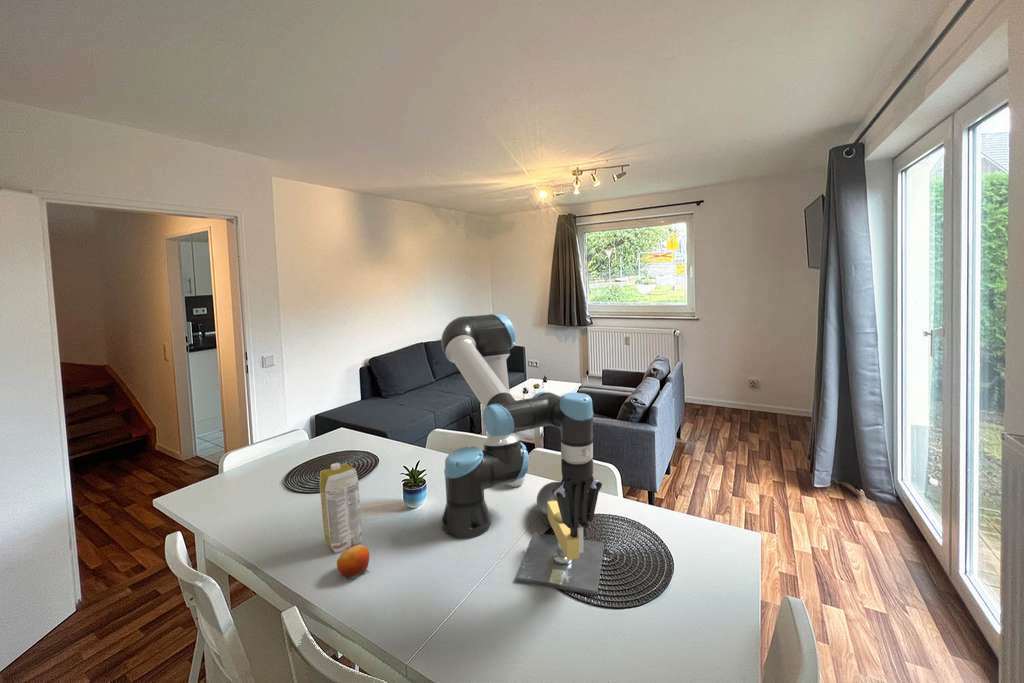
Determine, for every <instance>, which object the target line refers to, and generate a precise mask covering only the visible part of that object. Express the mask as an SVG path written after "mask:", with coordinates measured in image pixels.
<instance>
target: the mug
mask: <svg viewBox="0 0 1024 683" xmlns="http://www.w3.org/2000/svg"><path fill="white" fill-rule="evenodd" d="M525 478H526V475H525V476H524V477H523V478H521V479H519V480H516V481H514V482H512V483H506V484H505V485H507V486H509V487H512V488H513V487H514V488H515V487H520V486H522V485H523V483H524V482H525V480H526V479H525Z"/></svg>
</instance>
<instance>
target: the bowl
mask: <svg viewBox="0 0 1024 683" xmlns="http://www.w3.org/2000/svg"><path fill="white" fill-rule="evenodd" d="M560 486H561V481H552V482H549V483H547V484H545V485H543V486H542V487H541V488H540V489H539V491H538V493H537V496H536V505H537V508H538V511H539V514H540V516H541V518H542V519H543V521H544V522H545V523H546V524H547V526H548V527H550V526H551V524H550V522H549V520H548V506H547V502H549V501H557V499H556V497H555V496H554V494H553V493H552V491H553V490H554V489H556V490H557V489H558V488H559V487H560ZM564 493H565V497H564V498H565V500H566V503H567V507H568V511H569V499H568V496H567V492H566V491H564ZM550 528H552V526H551V527H550Z"/></svg>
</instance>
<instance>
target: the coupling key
mask: <svg viewBox="0 0 1024 683" xmlns="http://www.w3.org/2000/svg"><path fill="white" fill-rule="evenodd" d="M547 506H548V520H549V522H550V524H551V526H552V527H551V528H552V530H553V532H554V535H555V536H556V537H557V539H558V541H559V543H560V545H561V547H562V550H563V552H564V554H565V556H566V558H567V560H569V559H577V558H579V538H578V537H575V538H573V537H572V536H571V535H570V528H568V527H567V526H566V525H565V524H564V523H563V521H562V517H561V514H560V510H559V506H558V503H557V501H549V502H547Z"/></svg>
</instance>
